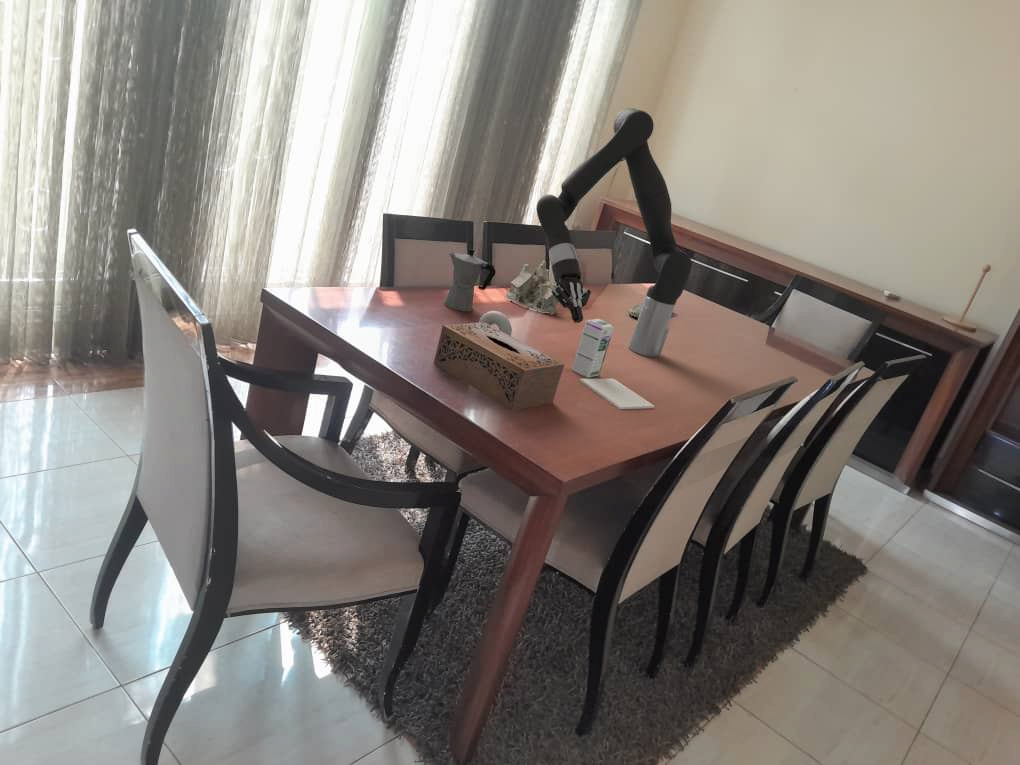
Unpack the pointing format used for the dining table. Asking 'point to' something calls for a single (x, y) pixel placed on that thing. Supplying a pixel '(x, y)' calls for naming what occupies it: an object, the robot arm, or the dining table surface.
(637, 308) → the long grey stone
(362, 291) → the dining table surface
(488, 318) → the donut
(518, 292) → the ceramic cottage
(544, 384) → the tissue box cover
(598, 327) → the syrup box
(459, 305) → the coffeepot
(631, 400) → the mat
